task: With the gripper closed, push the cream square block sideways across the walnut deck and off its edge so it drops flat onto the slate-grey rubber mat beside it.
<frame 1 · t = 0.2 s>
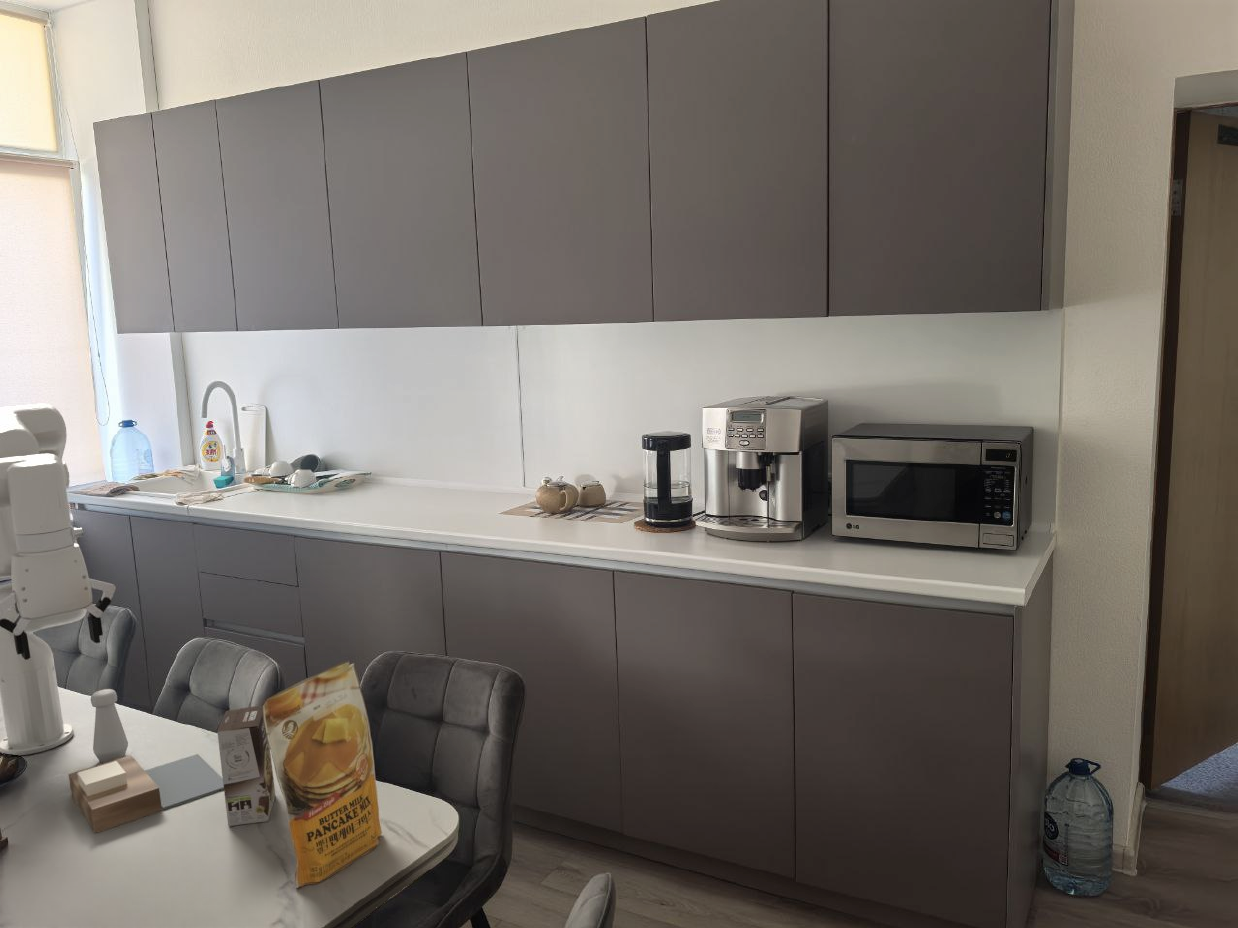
hand: (61, 649, 155), 30 cm above the table, tool pointing down, fingers open, 9 cm apart
deck: (115, 802, 168), on the table
pancake mix bag: (336, 860, 147), on the table
mat: (181, 781, 174), on the table
coffee box: (252, 811, 163), on the table
salt shaker: (112, 759, 185), on the table
cream square block: (102, 778, 166), point 5 cm above the table, touching deck
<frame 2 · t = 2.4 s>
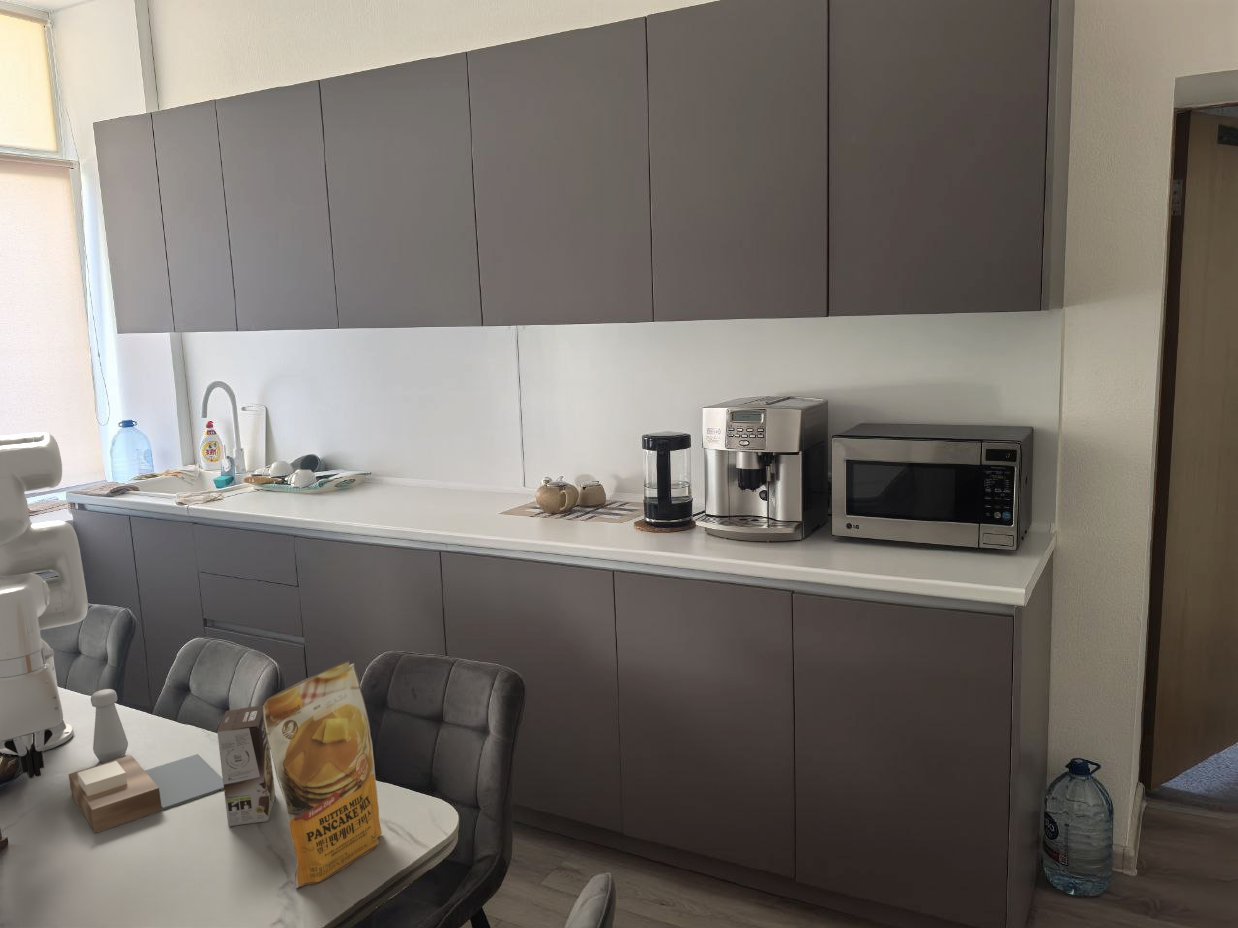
hand: (33, 774, 159), 9 cm above the table, tool pointing down, fingers closed
nothing on the table moved.
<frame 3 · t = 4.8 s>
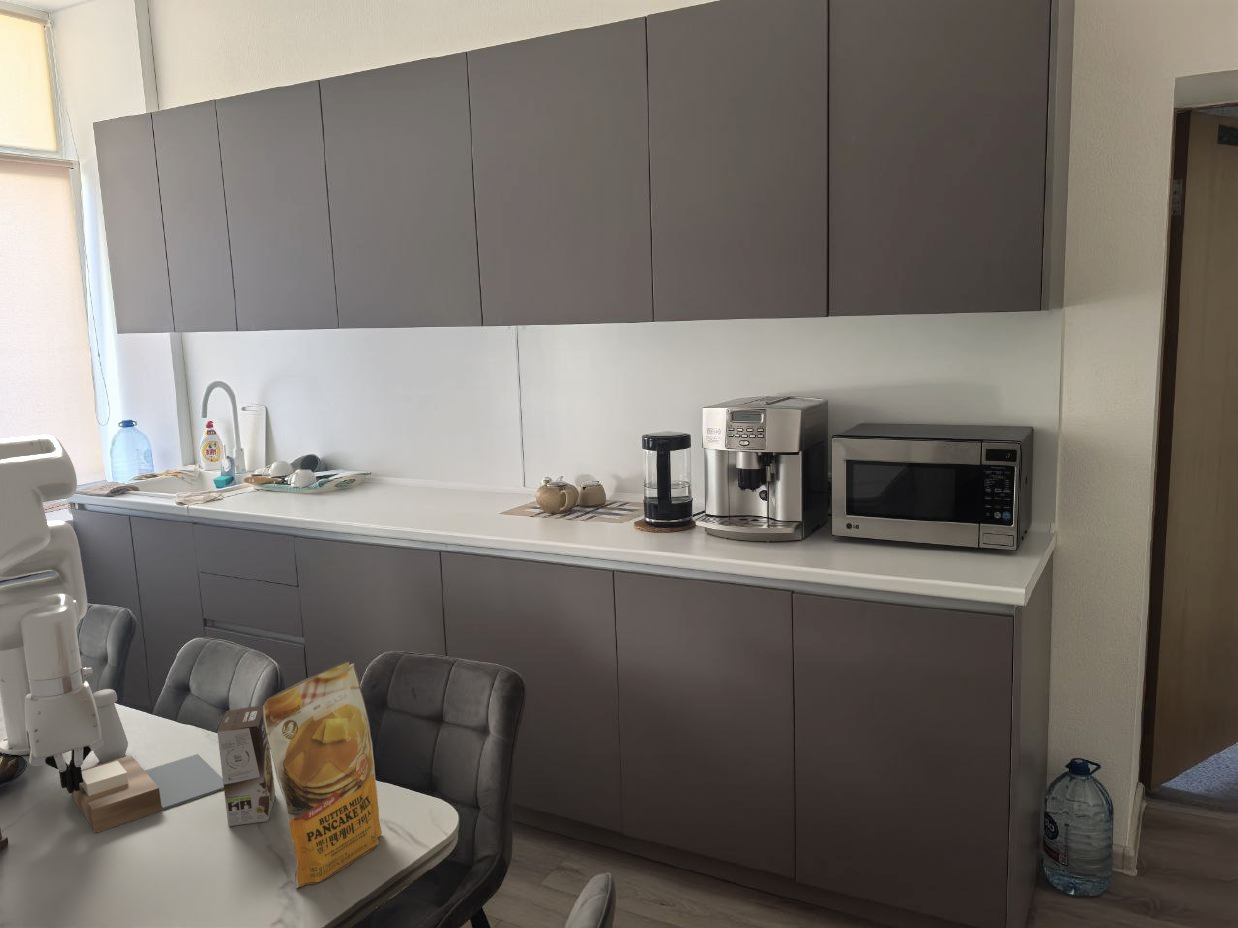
hand: (72, 788, 163), 5 cm above the table, tool pointing down, fingers closed
cream square block: (103, 777, 166), point 5 cm above the table, touching deck, gripper
everything else where it was.
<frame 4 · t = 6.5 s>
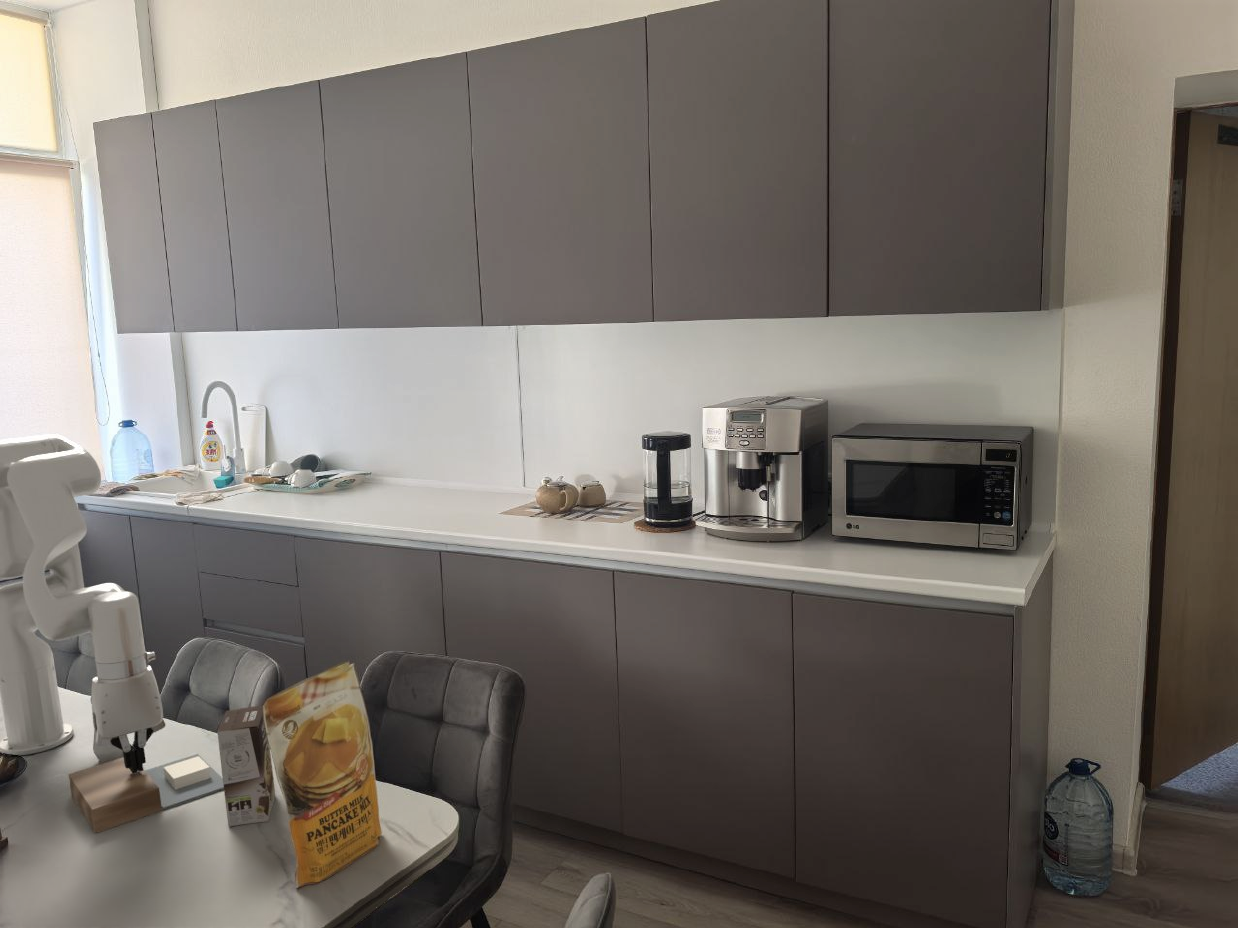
hand: (136, 769, 169), 5 cm above the table, tool pointing down, fingers closed
cream square block: (187, 772, 175), point 1 cm above the table, tilted 180°, touching mat
everything else where it was.
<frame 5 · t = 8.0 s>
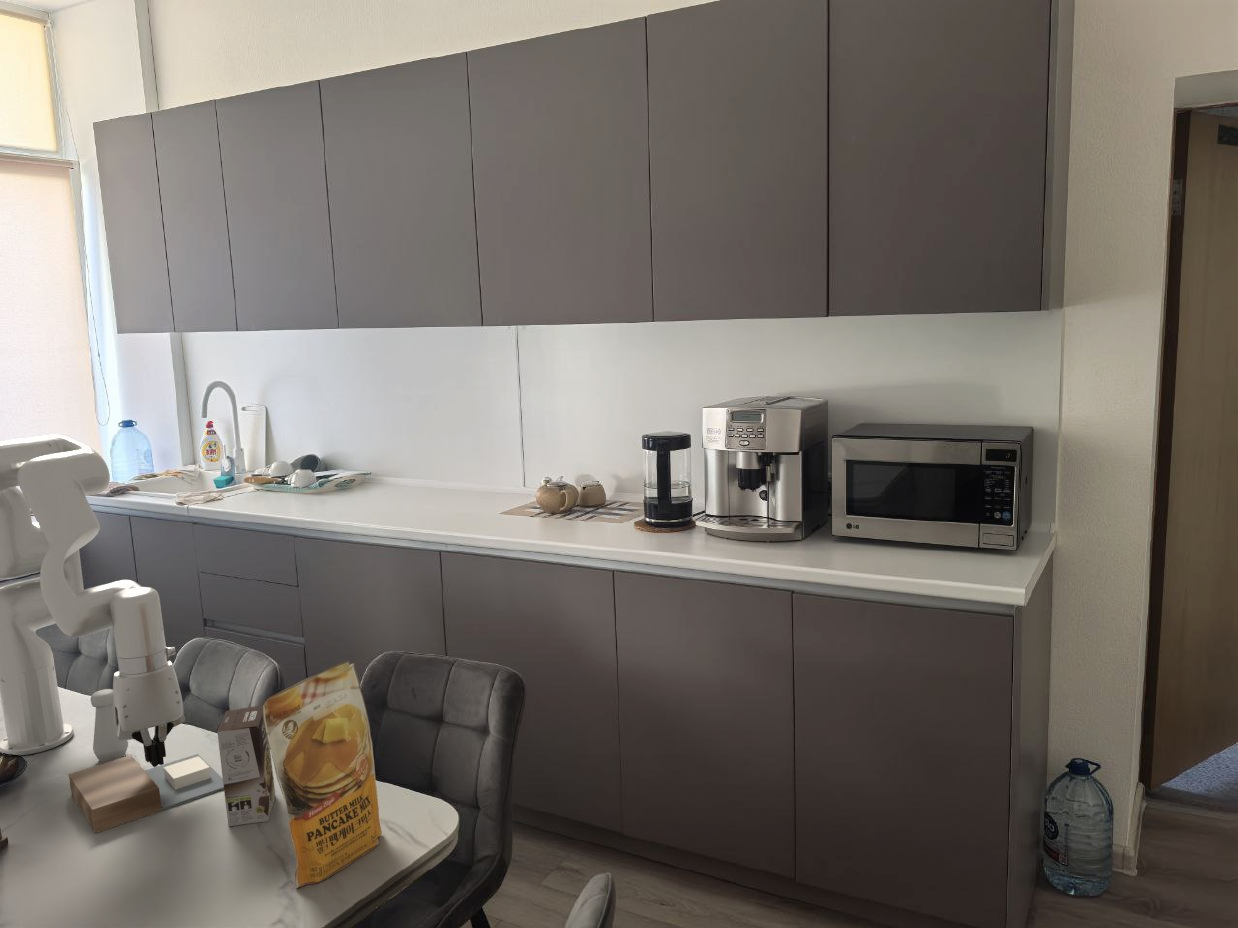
hand: (156, 762, 171), 5 cm above the table, tool pointing down, fingers closed
nothing on the table moved.
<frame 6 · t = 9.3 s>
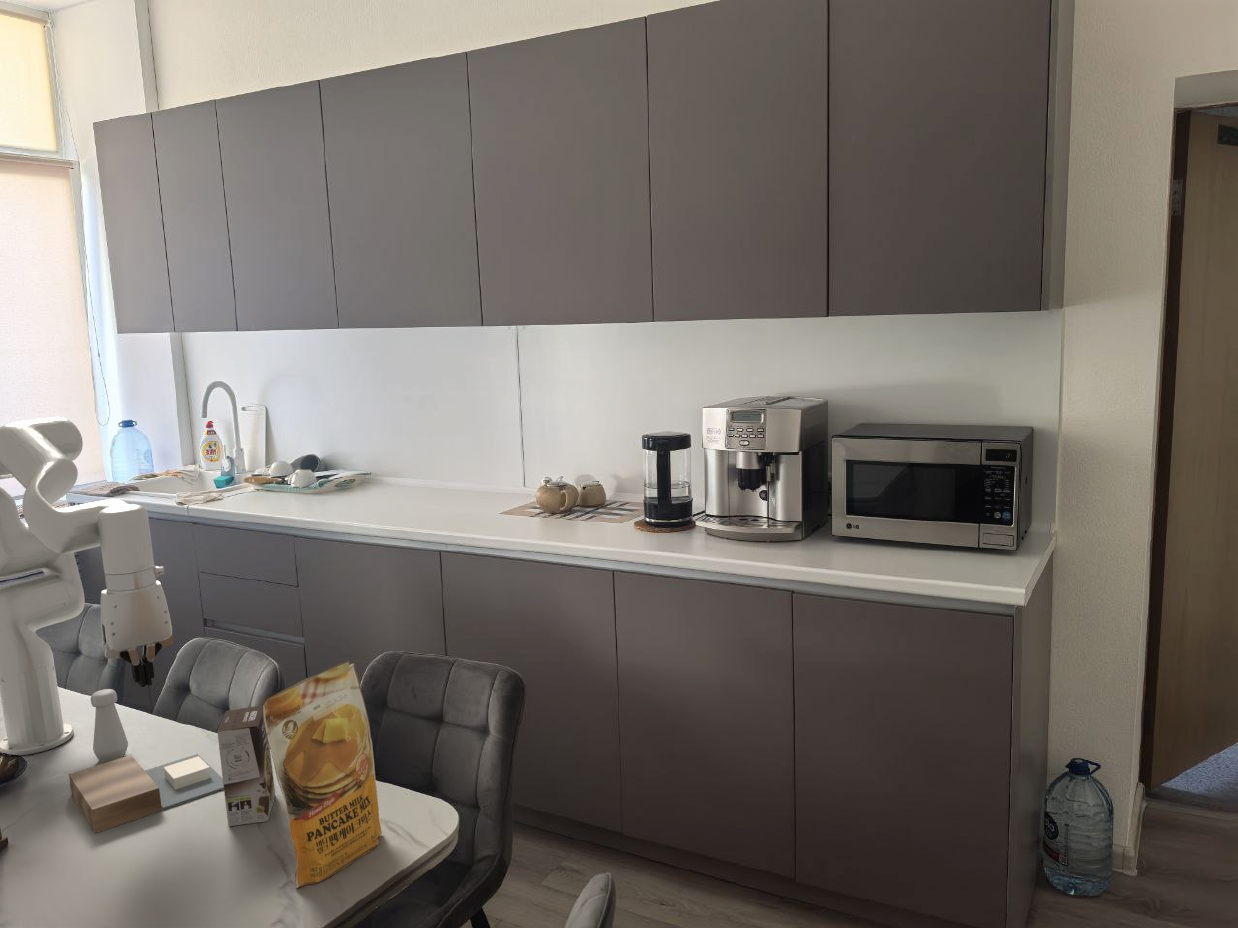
hand: (144, 683, 169), 19 cm above the table, tool pointing down, fingers closed
nothing on the table moved.
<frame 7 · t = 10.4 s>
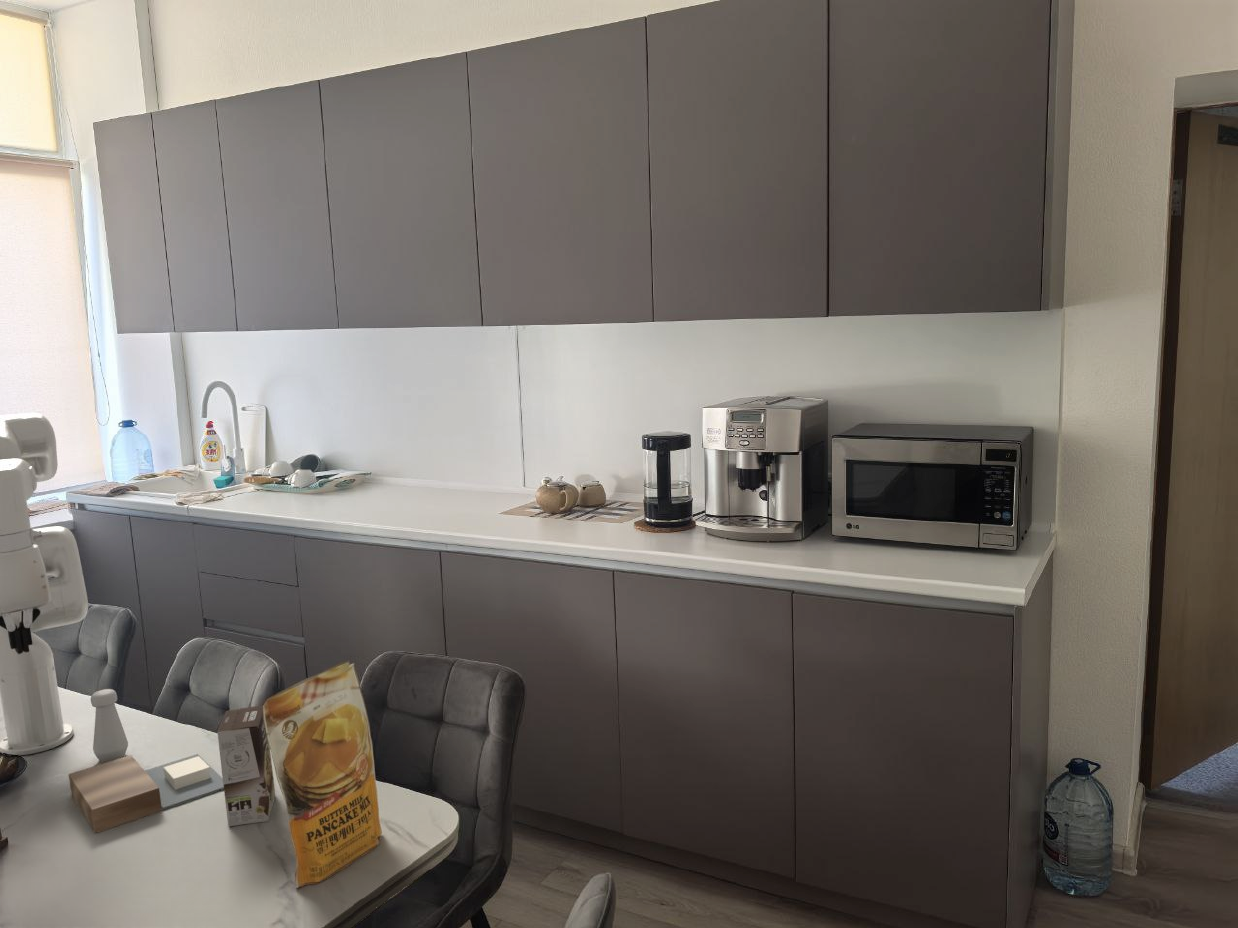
hand: (22, 650, 164), 27 cm above the table, tool pointing down, fingers closed
nothing on the table moved.
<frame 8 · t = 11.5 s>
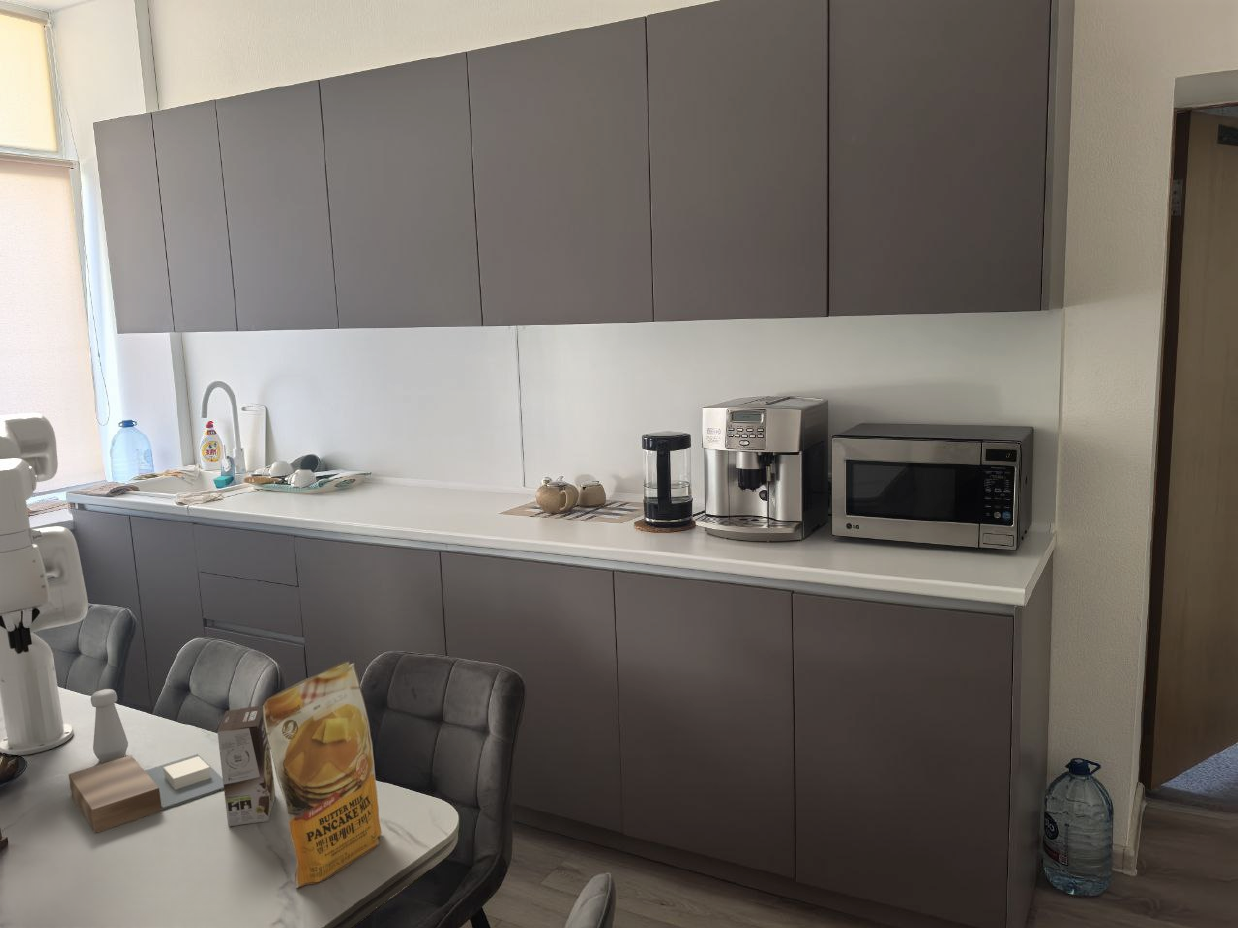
hand: (21, 650, 164), 27 cm above the table, tool pointing down, fingers closed
nothing on the table moved.
at the end: cream square block inside the target area on the mat (1.0 cm from its centre), point 1.4 cm above the mat's base; cream square block touching mat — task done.
